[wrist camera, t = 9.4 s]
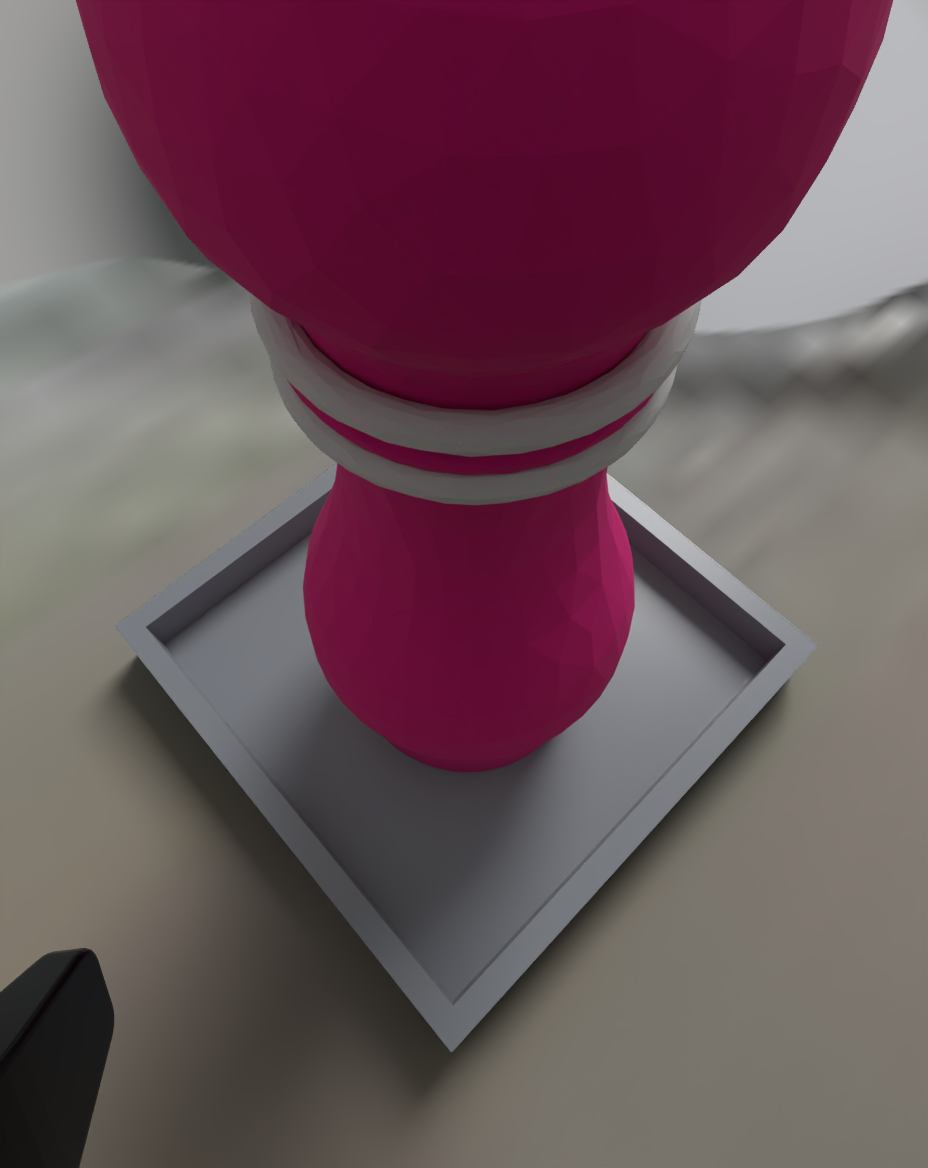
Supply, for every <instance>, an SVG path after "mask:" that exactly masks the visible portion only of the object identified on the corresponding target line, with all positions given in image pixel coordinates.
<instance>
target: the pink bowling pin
mask: <svg viewBox="0 0 928 1168" xmlns="http://www.w3.org/2000/svg"><path fill="white" fill-rule="evenodd" d="M76 2H77V6H78V9H79V13H80V16H81V20H82V23H83V27H84V30H85V34H86V37H87V41H88V44H89V48H90V51H91V54H92V58H93V61H94V64H95V68H96V71H97V74H98V77H99V81H100V84H101V88H102V90H103V94H104V97H105V99H106V101H107V103H108V105H109V107H110V109H111V111H112V113H113V115H114V117H115V119H116V121H117V123H118V125H119V127H120V129H121V131H122V133H123V135H124V137H125V139H126V141H127V143H128V145H129V147H130V149H131V151H132V153H133V155H134V157H135V159H136V161H137V163H138V165H139V167H140V169H141V170H142V171H143V173H144V174H145V176H146V177H147V179H148V180H149V182H150V183H151V185H152V186H153V187H154V189H155V190H156V192H157V193H158V195H159V196H160V198H161V199H162V201H163V202H164V203H165V205H166V206H167V208H168V209H169V211H170V212H171V214H172V215H173V217H174V218H175V220H176V221H177V222H178V224H179V225H180V227H181V228H182V230H183V231H184V232H185V234H186V236H187V237H188V238H189V239H190V240H191V241H192V242H193V243H194V245H195V246H196V247H197V248H198V249H199V250H200V251H201V252H202V253H203V254H204V256H205V257H206V258H207V259H208V260H210V261H211V262H212V263H213V264H215V265H216V266H217V267H218V268H220V269H221V270H222V271H223V272H225V273H226V274H227V275H228V276H230V277H231V278H232V279H234V280H235V281H236V282H237V283H239V284H240V285H241V286H242V287H244V288H245V289H246V290H247V291H249V296H250V304H251V312H252V315H253V318H254V321H255V324H256V327H257V331H258V333H259V335H260V337H261V339H262V342H263V344H264V346H265V348H266V350H267V352H268V355H269V357H270V362H271V367H272V371H273V376H274V380H275V382H276V385H277V387H278V390H279V392H280V395H281V397H282V400H283V402H284V405H285V407H286V408H287V410H288V411H289V413H290V414H291V416H292V418H293V419H294V421H295V422H296V423H297V424H298V425H299V427H300V428H301V429H302V430H303V432H304V433H305V434H306V435H307V437H308V438H309V439H310V440H311V441H312V442H313V443H314V444H315V445H316V446H317V447H318V448H319V449H320V450H321V451H322V452H324V453H325V454H326V455H328V456H329V457H330V458H332V459H333V460H335V461H336V462H337V469H336V477H335V482H334V484H333V487H332V489H331V492H330V494H329V496H328V498H327V500H326V502H325V504H324V506H323V508H322V510H321V512H320V514H319V516H318V518H317V520H316V522H315V524H314V527H313V530H312V534H311V537H310V541H309V545H308V552H307V559H306V566H305V573H304V581H303V596H304V608H305V618H306V622H307V625H308V629H309V633H310V636H311V640H312V644H313V647H314V651H315V654H316V658H317V660H318V663H319V665H320V667H321V669H322V671H323V673H324V676H325V678H326V680H327V682H328V683H329V685H330V686H331V688H332V689H333V690H334V692H335V693H336V695H337V696H338V697H339V699H340V700H341V702H342V703H343V704H344V705H345V706H346V707H347V708H348V709H349V710H350V711H351V712H352V713H353V714H354V715H355V716H356V717H357V718H358V719H359V720H360V721H361V722H363V723H364V724H365V725H367V726H368V727H369V728H371V729H372V730H373V731H375V732H376V733H378V734H379V735H381V736H382V737H384V738H386V739H387V740H388V741H389V742H390V743H391V744H392V745H393V746H394V747H396V748H397V749H398V750H400V751H401V752H403V753H404V754H405V755H407V756H409V757H411V758H413V759H415V760H417V761H419V762H421V763H423V764H426V765H429V766H431V767H434V768H439V769H443V770H448V771H455V772H481V771H487V770H493V769H497V768H500V767H504V766H507V765H509V764H512V763H514V762H516V761H518V760H521V759H523V758H525V757H526V756H528V755H529V754H531V753H532V752H533V751H535V750H536V749H538V748H539V747H540V746H541V745H543V744H544V743H545V742H547V741H548V740H550V739H552V738H554V737H555V736H557V735H559V734H560V733H562V732H563V731H565V730H566V729H567V728H568V727H570V726H571V725H572V724H574V723H575V722H576V721H577V720H579V719H580V718H581V717H582V716H584V714H585V713H586V712H587V711H588V710H589V709H590V708H591V707H592V705H593V704H594V703H595V702H596V701H597V700H598V699H599V698H600V696H601V695H602V693H603V692H604V690H605V688H606V687H607V685H608V684H609V682H610V680H611V679H612V677H613V676H614V673H615V671H616V668H617V666H618V663H619V661H620V658H621V656H622V653H623V651H624V648H625V645H626V642H627V639H628V636H629V632H630V627H631V623H632V618H633V613H634V609H635V592H634V570H633V559H632V552H631V548H630V544H629V540H628V536H627V532H626V530H625V528H624V525H623V523H622V521H621V519H620V517H619V514H618V512H617V510H616V508H615V506H614V504H613V503H612V501H611V498H610V495H609V493H608V483H607V467H608V466H609V465H611V464H612V463H614V462H615V461H617V460H618V459H619V458H621V457H622V456H623V455H625V454H626V453H627V452H628V451H629V450H630V449H631V448H632V447H633V446H634V445H635V444H636V443H637V442H638V441H639V440H640V439H641V437H642V436H643V435H644V434H645V433H646V432H647V430H648V429H649V428H650V427H651V426H652V424H653V423H654V421H655V420H656V418H657V417H658V415H659V413H660V412H661V410H662V408H663V407H664V405H665V403H666V401H667V398H668V395H669V393H670V390H671V388H672V385H673V381H674V377H675V373H676V369H677V365H678V363H679V362H680V360H681V358H682V356H683V354H684V352H685V350H686V348H687V346H688V344H689V342H690V340H691V338H692V336H693V334H694V331H695V326H696V323H697V319H698V315H699V311H700V305H701V300H702V299H703V298H705V297H706V296H708V295H709V294H711V293H712V292H714V291H715V290H717V289H718V288H720V287H721V286H723V285H725V284H726V283H728V282H729V281H730V280H732V279H734V278H735V277H737V276H738V275H739V274H740V273H741V272H742V271H743V270H744V269H745V268H746V267H747V266H748V265H749V264H750V263H751V262H752V261H753V260H754V259H755V258H756V257H757V256H758V255H759V254H760V253H761V252H762V251H763V250H764V249H765V248H766V247H767V246H768V245H769V244H770V243H771V242H772V241H773V240H774V239H775V238H776V237H777V236H778V235H779V234H780V233H781V232H782V231H783V229H784V228H785V227H786V225H787V223H788V222H789V220H790V219H791V217H792V216H793V214H794V212H795V211H796V209H797V208H798V206H799V205H800V203H801V201H802V200H803V198H804V197H805V195H806V193H807V192H808V190H809V189H810V187H811V186H812V184H813V182H814V181H815V179H816V178H817V176H818V174H819V173H820V171H821V170H822V168H823V166H824V165H825V163H826V162H827V160H828V158H829V156H830V154H831V152H832V150H833V148H834V146H835V144H836V142H837V140H838V138H839V136H840V134H841V132H842V130H843V128H844V126H845V125H846V123H847V120H848V119H849V117H850V115H851V113H852V111H853V109H854V107H855V105H856V102H857V100H858V98H859V95H860V93H861V90H862V88H863V86H864V83H865V81H866V79H867V76H868V74H869V72H870V69H871V67H872V65H873V62H874V60H875V58H876V55H877V53H878V50H879V48H880V46H881V43H882V41H883V38H884V34H885V30H886V26H887V22H888V18H889V14H890V10H891V7H892V3H893V0H76Z"/></svg>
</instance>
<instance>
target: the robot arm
mask: <svg viewBox="0 0 928 1168" xmlns="http://www.w3.org/2000/svg"><path fill="white" fill-rule="evenodd" d="M113 1028H114V1010H113V1005H112V1002H111V999H110V996H109V993H108V989H107V986H106V983H105V980H104V977H103V974H102V971H101V968H100V965H99V961H98V959H97V957H96V954H95V953H94V952H93V951H92V950H90V949H86V948H80V949H72V950H63V951H55V952H51V953H48V954H46V955H44V956H43V957H41V958H40V959H39V960H37V961H36V962H35V963H34V964H33V965H31V966H30V967H29V968H28V969H27V970H26V971H24V972H23V973H22V974H21V975H20V976H19V977H17V978H16V979H15V980H14V981H13V982H12V983H10V984H9V985H8V986H7V987H6V988H5V989H3V990H2V991H1V992H0V1168H79V1166H80V1162H81V1158H82V1154H83V1150H84V1146H85V1142H86V1138H87V1135H88V1131H89V1127H90V1123H91V1119H92V1115H93V1111H94V1107H95V1103H96V1099H97V1095H98V1091H99V1087H100V1083H101V1079H102V1075H103V1071H104V1067H105V1063H106V1059H107V1055H108V1051H109V1047H110V1043H111V1039H112V1035H113Z"/></svg>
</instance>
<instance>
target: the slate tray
mask: <svg viewBox="0 0 928 1168" xmlns="http://www.w3.org/2000/svg"><path fill="white" fill-rule="evenodd" d="M336 469H337V463H336V464H335V465H334V466H332V467H331V468H329V469H328V470H327V471H325V472H324V473H323V474H321V475H320V476H318V477H317V478H316V479H314V480H313V481H312V482H310V483H309V484H308V485H306V486H305V487H303V488H302V489H301V490H299V491H298V492H297V493H295V494H294V495H293V496H291V497H290V498H288V499H287V500H286V501H284V502H283V503H282V504H280V505H279V506H277V507H276V508H275V509H273V510H272V511H271V512H269V513H268V514H267V515H265V516H264V517H262V518H261V519H260V520H258V521H257V522H256V523H254V524H253V525H252V526H250V527H249V528H247V529H246V530H245V531H243V532H242V533H241V534H239V535H238V536H236V537H235V538H234V539H232V540H231V541H230V542H228V543H227V544H226V545H224V546H223V547H221V548H220V549H219V550H217V551H216V552H215V553H213V554H212V555H210V556H209V557H208V558H206V559H205V560H204V561H202V562H201V563H200V564H198V565H197V566H195V567H194V568H193V569H191V570H190V571H189V572H187V573H186V574H185V575H183V576H182V577H180V578H179V579H178V580H176V581H175V582H174V583H172V584H171V585H169V586H168V587H167V588H165V589H164V590H163V591H161V592H160V593H159V594H157V595H156V596H154V597H153V598H152V599H150V600H149V601H148V602H146V603H145V604H143V605H142V606H141V607H139V608H138V609H137V610H135V611H134V612H133V613H131V614H130V615H128V616H127V617H126V618H124V619H123V620H122V621H120V622H119V623H118V624H116V625H115V626H114V627H115V628H116V629H117V631H118V632H119V633H120V634H121V636H122V637H123V638H124V639H125V641H126V642H127V643H128V645H129V646H130V647H131V648H132V650H133V651H134V652H135V653H136V655H137V656H138V657H139V658H140V660H141V661H142V662H143V663H144V665H145V666H146V667H147V669H148V670H149V671H150V672H151V674H152V675H153V676H154V677H155V679H156V680H157V681H158V682H159V684H160V685H161V686H162V687H163V689H164V690H165V691H166V693H167V694H168V695H169V696H170V698H171V699H172V700H173V701H174V703H175V704H176V705H177V706H178V708H179V709H180V710H181V712H182V713H183V714H184V715H185V717H186V718H187V719H188V720H189V722H190V723H191V724H192V725H193V727H194V728H195V729H196V730H197V732H198V733H199V734H200V736H201V737H202V738H203V739H204V741H205V742H206V743H207V744H208V746H209V747H210V748H211V749H212V751H213V752H214V753H215V754H216V756H217V757H218V758H219V760H220V761H221V762H222V763H223V765H224V766H225V767H226V768H227V770H228V771H229V772H230V773H231V775H232V776H233V777H234V779H235V780H236V781H237V782H238V784H239V785H240V786H241V787H242V789H243V790H244V791H245V792H246V794H247V795H248V796H249V797H250V799H251V800H252V801H253V803H254V804H255V805H256V806H257V808H258V809H259V810H260V811H261V813H262V814H263V815H264V816H265V818H266V819H267V820H268V821H269V823H270V824H271V825H272V827H273V828H274V829H275V830H276V832H277V833H278V834H279V835H280V837H281V838H282V839H283V840H284V842H285V843H286V844H287V846H288V847H289V848H290V849H291V851H292V852H293V853H294V854H295V856H296V857H297V858H298V859H299V861H300V862H301V863H302V864H303V866H304V867H305V868H306V870H307V871H308V872H309V873H310V875H311V876H312V877H313V878H314V880H315V881H316V882H317V883H318V885H319V886H320V887H321V888H322V890H323V891H324V892H325V894H326V895H327V896H328V897H329V899H330V900H331V901H332V902H333V904H334V905H335V906H336V907H337V909H338V910H339V911H340V912H341V914H342V915H343V916H344V918H345V919H346V920H347V921H348V923H349V924H350V925H351V926H352V928H353V929H354V930H355V931H356V933H357V934H358V935H359V937H360V938H361V939H362V940H363V942H364V943H365V944H366V945H367V947H368V948H369V949H370V950H371V952H372V953H373V954H374V955H375V957H376V958H377V959H378V961H379V962H380V963H381V964H382V966H383V967H384V968H385V969H386V971H387V972H388V973H389V974H390V976H391V977H392V978H393V979H394V981H395V982H396V983H397V985H398V986H399V987H400V988H401V990H402V991H403V992H404V993H405V995H406V996H407V997H408V998H409V1000H410V1001H411V1002H412V1004H413V1005H414V1006H415V1007H416V1009H417V1010H418V1011H419V1012H420V1014H421V1015H422V1016H423V1017H424V1019H425V1020H426V1021H427V1022H428V1024H429V1025H430V1026H431V1028H432V1029H433V1030H434V1031H435V1033H436V1034H437V1035H438V1036H439V1038H440V1039H441V1040H442V1041H443V1043H444V1044H445V1045H446V1046H447V1048H448V1049H449V1050H450V1052H451V1053H452V1052H453V1051H454V1050H455V1048H456V1047H457V1046H458V1045H459V1044H460V1043H461V1042H462V1041H463V1040H464V1038H465V1037H466V1036H467V1035H468V1034H469V1033H470V1032H471V1031H472V1030H473V1028H474V1027H475V1026H476V1025H477V1024H478V1023H479V1022H480V1021H481V1020H482V1018H483V1017H484V1016H485V1015H486V1014H487V1013H488V1012H489V1011H490V1010H491V1008H492V1007H493V1006H494V1005H495V1004H496V1003H497V1002H498V1001H499V1000H500V998H501V997H502V996H503V995H504V994H505V993H506V992H507V991H508V990H509V988H510V987H511V986H512V985H513V984H514V983H515V982H516V981H517V980H518V978H519V977H520V976H521V975H522V974H523V973H524V972H525V971H526V970H527V968H528V967H529V966H530V965H531V964H532V963H533V962H534V961H535V960H536V958H537V957H538V956H539V955H540V954H541V953H542V952H543V951H544V950H545V948H546V947H547V946H548V945H549V944H550V943H551V942H552V941H553V940H554V938H555V937H556V936H557V935H558V934H559V933H560V932H561V931H562V930H563V929H564V927H565V926H566V925H567V924H568V923H569V922H570V921H571V920H572V919H573V917H574V916H575V915H576V914H577V913H578V912H579V911H580V910H581V909H582V907H583V906H584V905H585V904H586V903H587V902H588V901H589V900H590V899H591V897H592V896H593V895H594V894H595V893H596V892H597V891H598V890H599V889H600V887H601V886H602V885H603V884H604V883H605V882H606V881H607V880H608V879H609V877H610V876H611V875H612V874H613V873H614V872H615V871H616V870H617V869H618V867H619V866H620V865H621V864H622V863H623V862H624V861H625V860H626V859H627V857H628V856H629V855H630V854H631V853H632V852H633V851H634V850H635V849H636V847H637V846H638V845H639V844H640V843H641V842H642V841H643V840H644V839H645V837H646V836H647V835H648V834H649V833H650V832H651V831H652V830H653V829H654V827H655V826H656V825H657V824H658V823H659V822H660V821H661V820H662V819H663V818H664V816H665V815H666V814H667V813H668V812H669V811H670V810H671V809H672V808H673V806H674V805H675V804H676V803H677V802H678V801H679V800H680V799H681V798H682V796H683V795H684V794H685V793H686V792H687V791H688V790H689V789H690V788H691V786H692V785H693V784H694V783H695V782H696V781H697V780H698V779H699V778H700V776H701V775H702V774H703V773H704V772H705V771H706V770H707V769H708V768H709V766H710V765H711V764H712V763H713V762H714V761H715V760H716V759H717V758H718V756H719V755H720V754H721V753H722V752H723V751H724V750H725V749H726V748H727V746H728V745H729V744H730V743H731V742H732V741H733V740H734V739H735V738H736V736H737V735H738V734H739V733H740V732H741V731H742V730H743V729H744V728H745V726H746V725H747V724H748V723H749V722H750V721H751V720H752V719H753V718H754V716H755V715H756V714H757V713H758V712H759V711H760V710H761V709H762V708H763V707H764V705H765V704H766V703H767V702H768V701H769V700H770V699H771V698H772V697H773V695H774V694H775V693H776V692H777V691H778V690H779V689H780V688H781V687H782V685H783V684H784V683H785V682H786V681H787V680H788V679H789V678H790V677H791V675H792V674H793V673H794V672H795V671H796V670H797V669H798V668H799V667H800V665H801V664H802V663H803V662H804V661H805V660H806V659H807V658H808V657H809V655H810V654H811V653H812V652H813V651H814V650H815V649H816V648H817V647H818V645H817V644H816V643H815V642H814V641H813V640H811V639H810V638H809V637H808V636H806V635H805V634H804V633H803V632H801V631H800V630H799V629H798V628H797V627H795V626H794V625H793V624H792V623H790V622H789V621H788V620H787V619H786V618H784V617H783V616H782V615H781V614H779V613H778V612H777V611H776V610H774V609H773V608H772V607H771V606H770V605H768V604H767V603H766V602H765V601H763V600H762V599H761V598H760V597H758V596H757V595H756V594H755V593H754V592H752V591H751V590H750V589H749V588H747V587H746V586H745V585H744V584H743V583H741V582H740V581H739V580H738V579H736V578H735V577H734V576H733V575H731V574H730V573H729V572H728V571H727V570H725V569H724V568H723V567H722V566H720V565H719V564H718V563H717V562H715V561H714V560H713V559H712V558H711V557H709V556H708V555H707V554H706V553H704V552H703V551H702V550H701V549H700V548H698V547H697V546H696V545H695V544H693V543H692V542H691V541H690V540H688V539H687V538H686V537H685V536H684V535H682V534H681V533H680V532H679V531H677V530H676V529H675V528H674V527H673V526H671V525H670V524H669V523H668V522H666V521H665V520H664V519H663V518H661V517H660V516H659V515H658V514H657V513H655V512H654V511H653V510H652V509H650V508H649V507H648V506H647V505H645V504H644V503H643V502H642V501H641V500H639V499H638V498H637V497H636V496H634V495H633V494H632V493H631V492H630V491H628V490H627V489H626V488H625V487H623V486H622V485H621V484H620V483H618V482H617V481H616V480H615V479H614V478H612V477H611V476H610V475H609V474H607V483H608V493H609V495H610V498H611V501H612V503H613V504H614V506H615V508H616V510H617V512H618V514H619V517H620V519H621V521H622V523H623V525H624V528H625V530H626V532H627V536H628V540H629V544H630V548H631V552H632V559H633V570H634V592H635V609H634V613H633V618H632V623H631V627H630V632H629V636H628V639H627V642H626V645H625V648H624V651H623V653H622V656H621V658H620V661H619V663H618V666H617V668H616V671H615V673H614V676H613V677H612V679H611V680H610V682H609V684H608V685H607V687H606V688H605V690H604V692H603V693H602V695H601V696H600V698H599V699H598V700H597V701H596V702H595V703H594V704H593V705H592V707H591V708H590V709H589V710H588V711H587V712H586V713H585V714H584V716H582V717H581V718H580V719H579V720H577V721H576V722H575V723H574V724H572V725H571V726H570V727H568V728H567V729H566V730H565V731H563V732H562V733H560V734H559V735H557V736H555V737H554V738H552V739H550V740H548V741H547V742H545V743H544V744H543V745H541V746H540V747H539V748H538V749H536V750H535V751H533V752H532V753H531V754H529V755H528V756H526V757H525V758H523V759H521V760H518V761H516V762H514V763H512V764H509V765H507V766H504V767H500V768H497V769H493V770H487V771H481V772H455V771H448V770H443V769H439V768H434V767H431V766H429V765H426V764H423V763H421V762H419V761H417V760H415V759H413V758H411V757H409V756H407V755H405V754H404V753H403V752H401V751H400V750H398V749H397V748H396V747H394V746H393V745H392V744H391V743H390V742H389V741H388V740H387V739H386V738H384V737H382V736H381V735H379V734H378V733H376V732H375V731H373V730H372V729H371V728H369V727H368V726H367V725H365V724H364V723H363V722H361V721H360V720H359V719H358V718H357V717H356V716H355V715H354V714H353V713H352V712H351V711H350V710H349V709H348V708H347V707H346V706H345V705H344V704H343V703H342V702H341V700H340V699H339V697H338V696H337V695H336V693H335V692H334V690H333V689H332V688H331V686H330V685H329V683H328V682H327V680H326V678H325V676H324V673H323V671H322V669H321V667H320V665H319V663H318V660H317V658H316V654H315V651H314V647H313V644H312V640H311V636H310V633H309V629H308V625H307V622H306V618H305V608H304V596H303V581H304V573H305V566H306V559H307V552H308V545H309V541H310V537H311V534H312V530H313V527H314V524H315V522H316V520H317V518H318V516H319V514H320V512H321V510H322V508H323V506H324V504H325V502H326V500H327V498H328V496H329V494H330V492H331V489H332V487H333V484H334V482H335V477H336Z"/></svg>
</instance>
